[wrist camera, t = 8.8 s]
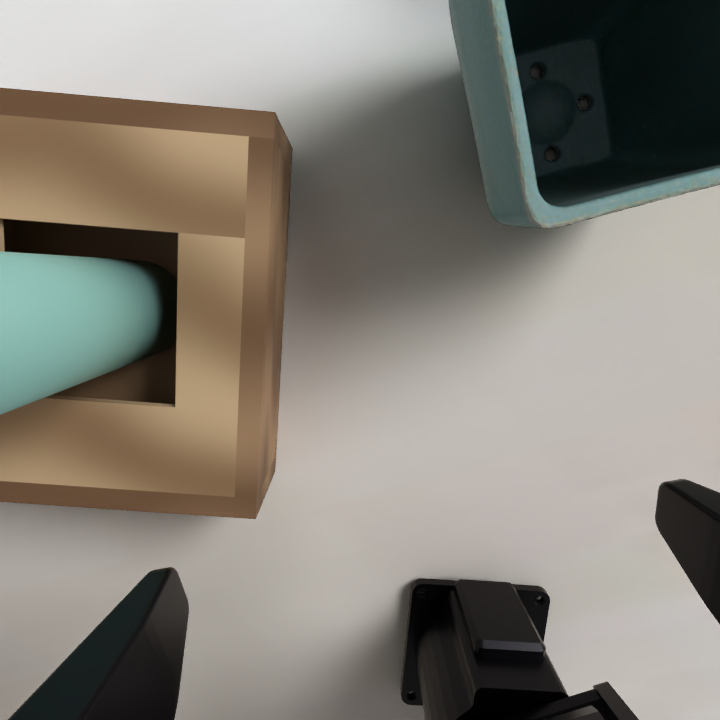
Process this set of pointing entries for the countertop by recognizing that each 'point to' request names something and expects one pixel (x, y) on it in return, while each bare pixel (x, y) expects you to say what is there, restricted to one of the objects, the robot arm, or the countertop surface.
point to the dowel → (77, 320)
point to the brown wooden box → (194, 298)
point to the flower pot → (607, 103)
